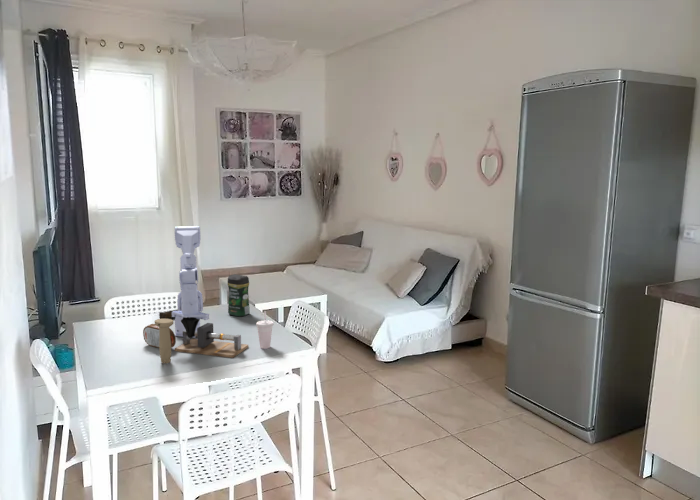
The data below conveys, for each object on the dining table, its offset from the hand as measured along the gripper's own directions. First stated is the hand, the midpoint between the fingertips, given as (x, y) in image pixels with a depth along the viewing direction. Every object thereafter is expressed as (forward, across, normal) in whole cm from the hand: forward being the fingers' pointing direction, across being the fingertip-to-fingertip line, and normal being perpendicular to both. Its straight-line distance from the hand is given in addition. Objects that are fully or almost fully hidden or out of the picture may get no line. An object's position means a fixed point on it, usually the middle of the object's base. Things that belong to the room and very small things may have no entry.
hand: (191, 336), depth 199 cm
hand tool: (+5, -30, +38) cm, 49 cm away
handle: (+5, -1, -14) cm, 15 cm away
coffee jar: (+5, -6, +49) cm, 49 cm away
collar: (+3, +4, +3) cm, 6 cm away
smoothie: (+5, +25, +11) cm, 28 cm away
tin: (+5, -13, -1) cm, 14 cm away
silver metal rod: (+5, +7, +3) cm, 9 cm away
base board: (+5, +7, +3) cm, 9 cm away
